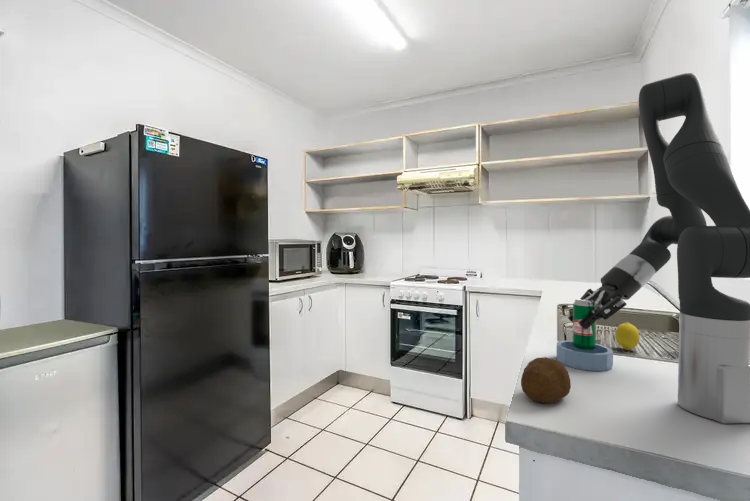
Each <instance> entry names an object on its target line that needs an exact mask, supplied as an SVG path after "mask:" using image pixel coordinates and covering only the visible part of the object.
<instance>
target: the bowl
mask: <svg viewBox="0 0 750 501" xmlns="http://www.w3.org/2000/svg"><path fill="white" fill-rule="evenodd" d="M555 355H556V360H557V361H558V362H560V363H561V364H563V365H564V366H566V367H568V366H569V367H570V368H572V369H577V370H581V371H588V372H609V371H611V370H612V369H613V366H614V351H613V349H612V348H610V347H608V346H605V345H602V344H598V343H596V347H595V349H593V350H581V349H577V348H575V347H574V346H573V344H572V340H561V341H556V354H555Z"/></svg>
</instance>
